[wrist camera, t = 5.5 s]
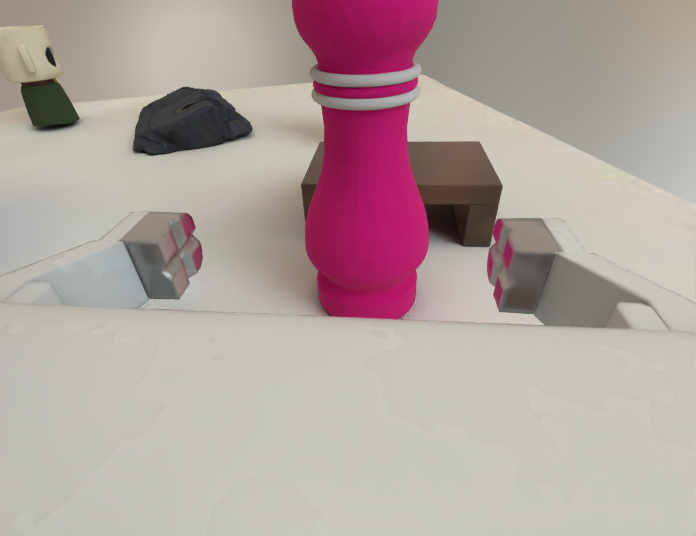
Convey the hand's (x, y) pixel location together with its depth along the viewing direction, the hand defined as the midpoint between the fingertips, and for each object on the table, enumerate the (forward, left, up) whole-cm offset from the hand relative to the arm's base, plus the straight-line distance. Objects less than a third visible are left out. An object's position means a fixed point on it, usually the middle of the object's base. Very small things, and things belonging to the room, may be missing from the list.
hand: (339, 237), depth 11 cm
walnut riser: (+2, +21, -11) cm, 24 cm away
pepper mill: (0, +11, -11) cm, 15 cm away
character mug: (-50, +49, -11) cm, 71 cm away
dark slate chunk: (-28, +48, -11) cm, 56 cm away
